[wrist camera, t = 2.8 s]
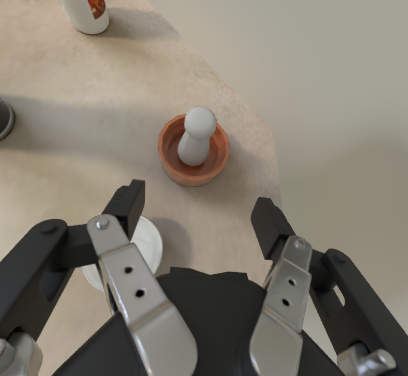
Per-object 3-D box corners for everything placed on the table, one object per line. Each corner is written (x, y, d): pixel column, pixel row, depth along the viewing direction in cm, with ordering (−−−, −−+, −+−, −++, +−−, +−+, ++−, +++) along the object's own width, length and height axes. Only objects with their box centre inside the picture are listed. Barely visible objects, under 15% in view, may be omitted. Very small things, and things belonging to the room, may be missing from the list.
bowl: (147, 151, 35) (142, 139, 30) (194, 117, 38) (198, 101, 34) (188, 199, 35) (191, 195, 30) (234, 160, 38) (243, 151, 33)
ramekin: (158, 208, 34) (156, 206, 28) (170, 273, 32) (169, 282, 27) (92, 222, 31) (76, 221, 26) (99, 291, 30) (84, 305, 24)
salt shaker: (197, 136, 37) (209, 91, 25) (212, 160, 37) (232, 126, 24) (171, 150, 36) (170, 109, 23) (187, 175, 35) (194, 146, 23)
